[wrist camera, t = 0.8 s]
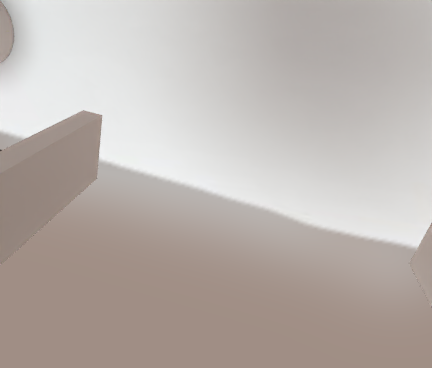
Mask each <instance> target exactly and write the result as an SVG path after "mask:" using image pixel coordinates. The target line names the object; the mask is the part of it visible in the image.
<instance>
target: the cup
mask: <svg viewBox="0 0 432 368" xmlns="http://www.w3.org/2000/svg"><path fill="white" fill-rule="evenodd" d="M13 42H14V30H13V25H12V21H11V18H10V16H9V14H8V12H7V10H6V8H5V6H4V5H3V4H2V2H1V1H0V63H1V62H3V61H4V60H5V59H6V58H7V57H8V56H9V54H10V52H11V50H12V47H13Z"/></svg>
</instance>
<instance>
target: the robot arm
mask: <svg viewBox="0 0 432 368" xmlns="http://www.w3.org/2000/svg"><path fill="white" fill-rule="evenodd" d="M101 124H102V115H99V114H95V113H91V112H87V111H84V110H83V111H81V112H79V113H77V114H75V115H73V116H71V117H69V118H67V119H65V120H63V121H61V122H59V123H57V124H55V125H53V126H51V127H49V128H46V129H44V130H42V131H40V132H38V133H36V134H34V135H32V136H30V137H28V138H26V139H24V140H22V141H20V142H18V143H16V144H14V145H12V146H10V147H8V148H6V149H4V150H0V265H1V264H3V263H4V262H5V261H6V260H7V259H8V258H9V257H10V256H11V255H12V254H14V253H15V252H16V251H17V250H18V249H19V248H20V247H21V246H22V245H24V244H25V243H26V242H27V241H28V240H29V239H30V238H31V237H32V236H34V234H36V233H37V232H38V231H39V230H40V229H41V228H43V227H44V226H45V225H46V224H47V223H48V222H49V221H50V220H51V219H53V218H54V217H55V216H56V215H57V214H58V213H59V212H60V211H61V210H63V209H64V208H65V207H66V206H67V205H68V204H69V203H70V202H71V201H73V200H74V199H75V198H76V197H77V196H78V195H79V194H80V193H81V192H83V191H84V190H85V189H86V188H87V187H88V186H89V185H90V184H91V183H92V182H94V181H95V180H96V179H97V170H98V159H99V147H100V135H101ZM409 264H410V266H411V268H412V270H413V272H414V274H415V276H416V278H417V280H418V282H419V284H420V286H421V288H422V289H423V292H424V294H425V296H426V298H427V300H428V301H429V303H430V305H431V307H432V223H431V225H430V227H429V229H428V230H427V232H426V234H425V236H424V238H423V239H422V241H421V243H420V245H419V247H418V248H417V250H416V252H415V254H414V255H413V257H412V259H411V261H410V263H409Z"/></svg>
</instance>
